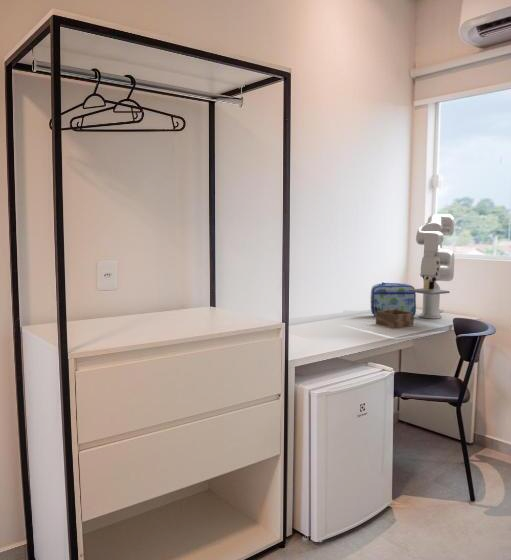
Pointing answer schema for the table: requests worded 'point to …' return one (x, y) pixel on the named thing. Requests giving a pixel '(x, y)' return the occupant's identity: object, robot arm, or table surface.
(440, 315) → the robot arm
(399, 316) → the walnut box
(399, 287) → the lunch box
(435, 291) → the lid
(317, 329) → the table surface
